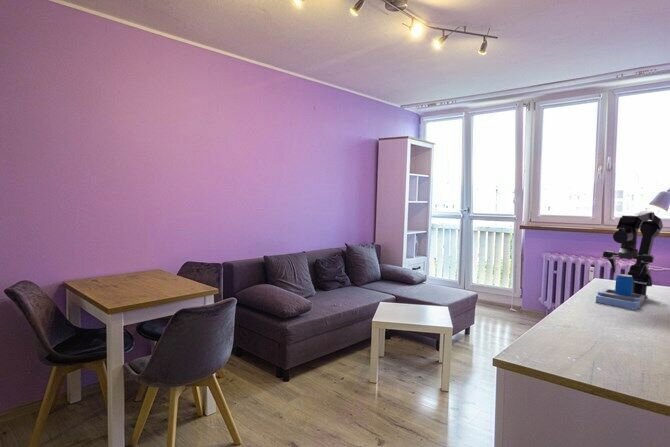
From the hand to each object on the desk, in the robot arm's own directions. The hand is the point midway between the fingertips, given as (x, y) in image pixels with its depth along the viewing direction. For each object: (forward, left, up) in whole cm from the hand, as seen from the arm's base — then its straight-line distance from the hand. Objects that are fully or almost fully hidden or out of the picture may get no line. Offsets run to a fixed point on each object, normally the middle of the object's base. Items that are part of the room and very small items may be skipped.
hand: (626, 274), depth 181 cm
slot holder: (+3, -1, -13) cm, 13 cm away
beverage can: (-2, -1, -13) cm, 13 cm away
